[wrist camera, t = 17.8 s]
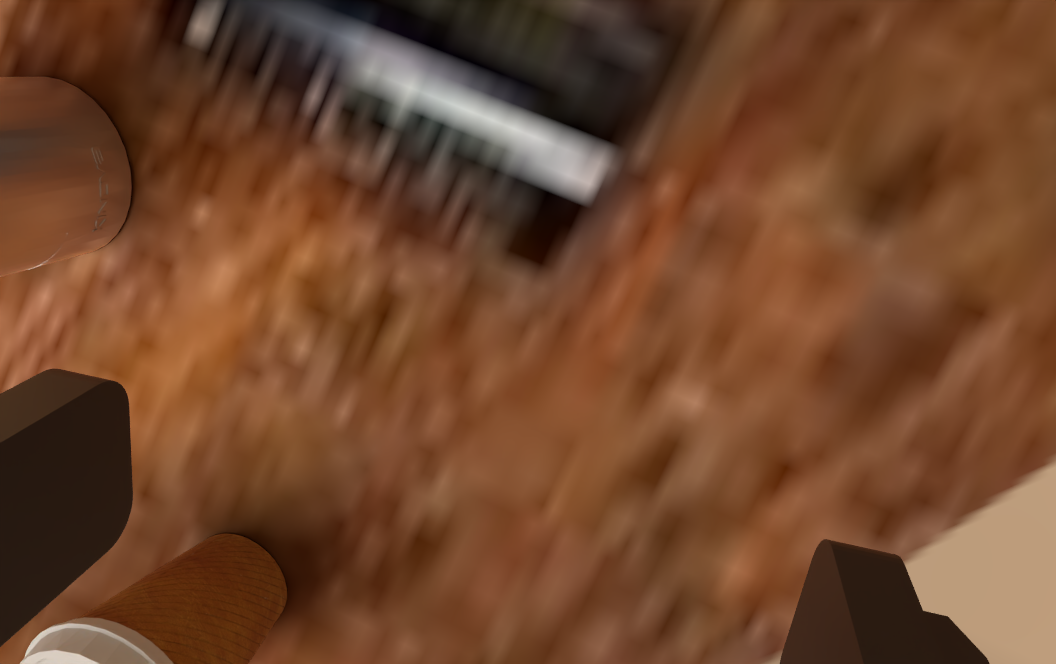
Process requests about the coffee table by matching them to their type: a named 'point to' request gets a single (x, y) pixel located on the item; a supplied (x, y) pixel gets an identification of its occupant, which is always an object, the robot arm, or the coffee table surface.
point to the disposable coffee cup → (178, 612)
